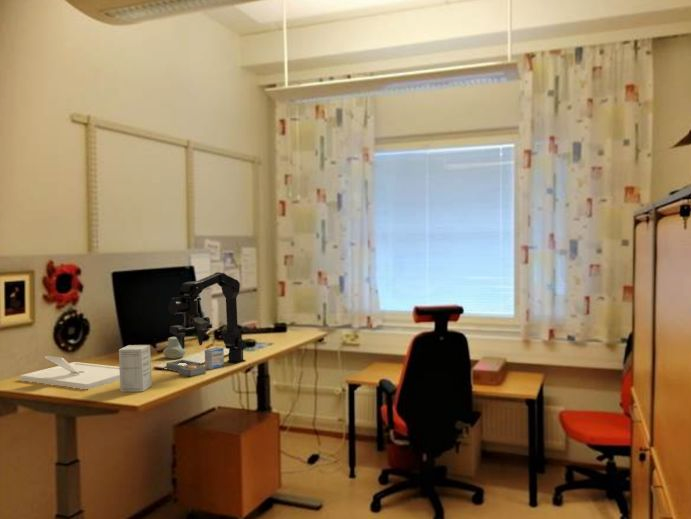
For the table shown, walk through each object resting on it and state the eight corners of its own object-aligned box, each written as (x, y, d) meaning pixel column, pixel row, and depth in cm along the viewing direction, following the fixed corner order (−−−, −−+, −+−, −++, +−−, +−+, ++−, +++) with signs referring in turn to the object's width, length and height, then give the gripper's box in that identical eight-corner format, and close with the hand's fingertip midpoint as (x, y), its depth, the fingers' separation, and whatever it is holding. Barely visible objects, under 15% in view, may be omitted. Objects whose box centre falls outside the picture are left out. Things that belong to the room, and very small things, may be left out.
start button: (193, 369, 253) (193, 365, 253) (198, 370, 251) (198, 366, 251) (186, 371, 250) (186, 366, 250) (191, 372, 248) (191, 368, 248)
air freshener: (161, 359, 281) (160, 339, 281) (166, 356, 290) (165, 336, 289) (183, 359, 282) (183, 339, 281) (187, 355, 290) (187, 336, 290)
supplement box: (152, 385, 232) (151, 344, 231) (143, 391, 223) (142, 349, 222) (129, 385, 232) (128, 344, 232) (119, 392, 223) (118, 349, 222)
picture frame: (87, 391, 227) (139, 375, 252) (86, 360, 226) (138, 347, 251) (19, 382, 243) (74, 368, 268) (18, 353, 243) (73, 341, 268)
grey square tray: (184, 363, 271) (184, 358, 271) (203, 367, 263) (203, 362, 263) (163, 368, 262) (162, 363, 262) (182, 372, 253) (181, 367, 253)
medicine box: (212, 369, 258) (211, 350, 258) (204, 368, 261) (204, 349, 260) (224, 366, 265) (223, 347, 265) (217, 365, 267) (216, 346, 267)
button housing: (194, 371, 256) (193, 364, 256) (205, 373, 251) (205, 366, 251) (179, 374, 250) (178, 367, 250) (190, 377, 245) (190, 370, 245)
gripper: (184, 315, 237) (185, 352, 238) (220, 310, 252) (220, 345, 253) (168, 313, 244) (169, 349, 245) (203, 308, 259) (204, 342, 259)
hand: (191, 346), depth 250 cm, fingers open, 9 cm apart
